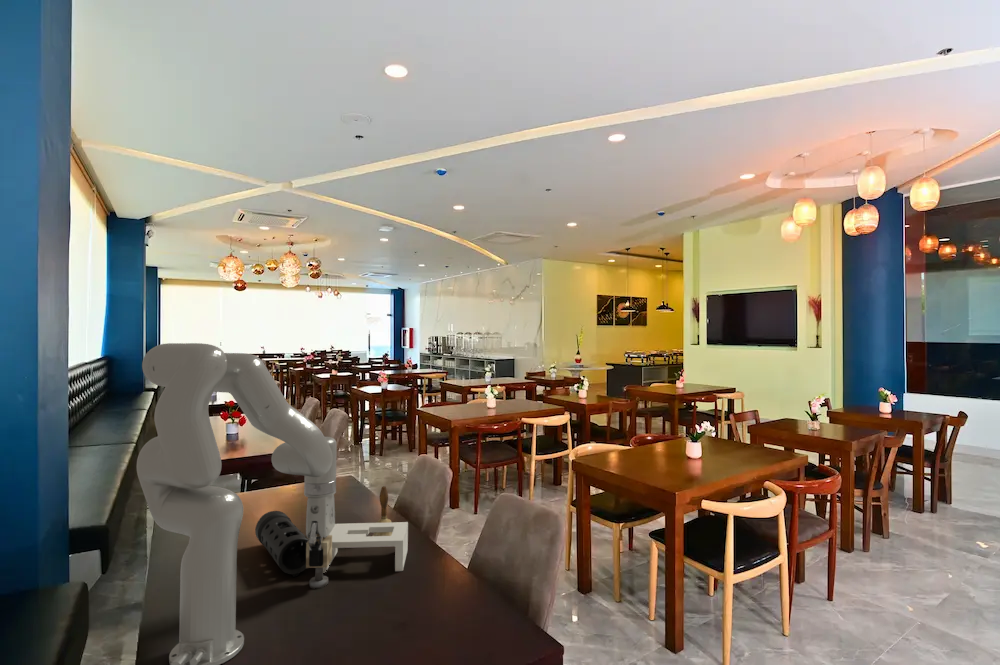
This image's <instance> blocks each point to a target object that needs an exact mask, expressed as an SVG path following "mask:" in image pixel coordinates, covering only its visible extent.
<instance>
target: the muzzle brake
mask: <svg viewBox="0 0 1000 665" xmlns="http://www.w3.org/2000/svg"><path fill="white" fill-rule="evenodd" d="M254 532H255V538H257V540H258V541H259V543H260V544H262V546H263V547H264V548H265V549H266V551H267V552H268V553H269V555H270V556H271V558H272V559H273V560H274V561H275V563H276V564H277V566H278V567H279V568H280V570H281V571H282V572H283V573H285V574H287V575H292V577H297V576H300V573H302V572H304V571H305V570H306V569H307V568H306V543H307V542H308V540H309V538H308V537H307V536H306V534H304V533H303V532H302V531H301V530H300V529H299V528H298V527H297V526H296V525H295V524H294V523H293V522H292V520H291V519H290V517H289V516H288V515H287V514H286V513H284V512H283V511H279V510H273V511H272V510H271V511H268V512H266V513H264V514H263V515H262V516H261V517H260V518H259V520H258V521H257V523H256V525H255V531H254Z"/></svg>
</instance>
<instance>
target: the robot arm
mask: <svg viewBox="0 0 1000 665" xmlns="http://www.w3.org/2000/svg"><path fill="white" fill-rule="evenodd" d="M141 362H142V364H141V367H142V373H143V374H144V376H145V377H146V379H147V380H148V381H149V382H150V383H152V384H154V385H156V386H159V387H164V389H163V391H162V393H161V394H160V396H159V399H158V400H157V402H156V405H155V409H154V416H153V417H154V418H153V419H154V425H155V429H156V433H157V436H155V437H152V438H151V439H149V440H148V441H147V442H145V444H144V445H143V446H142V448H141V449H140V451H139V453H138V455H137V459H136V473H137V478H138V481H139V484H140V487H141V490H142V493H143V495H144V498H145V501H146V505H147V507H148V510H149V512H150V515H151V518H152V519H153V521H154V522H155V523H156V525H157V526H158V527H159V528H161V529H162V530H165V531H168V532H171V533H175V534H180V535H184V536H187V537H189V540H188V544H187V546H186V548H185V551H184V553H183V555H182V557H181V560H180V561H181V562H180V575H179V576H180V580H179V582H180V583H179V586H180V587H179V588H180V589H179V592H180V593H179V631H178V632H179V633H178V636H179V639H178V640H179V641H178V643H177V644H176V645H174V647H173V648H172V649H171V651H170V652H169V655H168V662H169V665H221V664H224V663H227V662H228V661H229V660H231V659H232V658H234V657H235V656H236V655H237V654H239V652H240V651H241V650H242V649H243V647H244V645H245V635H244V633H242V632H241V631H240V630H238V629H236V628H237V627H236V626H237V624H236V620H237V617H236V616H237V573H238V572H237V570H238V569H237V568H238V566H237V560H238V559H237V558H238V541H239V535H240V531H241V526H242V523H243V522H242V521H243V517H244V505H243V504H244V503H243V501H242V499H241V498H240V496H239V495H238V494H237V493H236V492H234V491H232V490H231V489H228V488H225V487H220V486H216V485H215V486H214V485H212V484H214V482H216V481H217V479H218V478H219V477H220V475H221V471H222V465H223V464H222V459H221V454H220V451H219V450H220V449H219V446H218V444H217V440H216V436H215V434H214V430H213V426H212V422H211V419H210V415H209V414H210V413H209V405H210V402H211V398H212V396H213V394H214V393H226V394H230V395H231V397H232V398H233V399H234V400H235V402H236V404H237V405H238V406H239V408H240V409H241V411H242V412H243V413H244V416H245V417H246V419H247V420H248V422H249V423H250V425H251V426H252V427H253V428H255V429H256V430H259V431H260V432H262V433H264V434H265V435H267V436H269V437H273V438H275V439H278V440H279V441H282V442H283V443H281V444H279V445H277V447H276V448H275V449H274V450H273V451H272V454H271V463H272V464H271V465H272V467H273V468H274V469H275V470H276V471H278V472H280V473H282V474H286V475H287V474H288V475H295V476H304V477H303V478H304V482H303V483H304V484H303V486H304V487H303V489H304V490H303V495H304V496H305V497H306V498H307V502H306V504H307V505H306V514H305V515H306V516H305V518H306V520H305V536H306V537H307V538H308V539H309V566H310V567H314V566H322V565H323V549H322V541H323V537H324V538H326V537H327V536H328V535H329V534H330V532H331V531H332V529H333V528H334V526H335V524H336V511H335V510H336V508H335V494H336V493H337V457H338V456H337V448H338V447H337V445H338V444H337V441H336V439H335V437H331V436H325V435H324V434H323V432H322V430H321V429H320V428H319V427H318V426H317V425H316V424H315V423H314V422H313V421H312V420H310V419H309V418H308V417H306V416H305V415H304V414H303V413H301V412H300V411H299V410H298V409H296V408H295V407H293V406H292V405H290V403H288V401H287V399H286V397H285V396H284V395H283V393H282V391H281V389H280V387H279V386H278V384H277V383H276V381H275V379H274V378H273V376H272V374H271V373H270V371H269V369H268V368H267V366H266V365H265V362H264V361H263V360H262V359H261V358H259V357H258V356H257V355H255V354H251V353H245V352H244V353H243V352H241V353H240V352H237V353H236V352H224V351H223V350H222V349H221V348H220V347H218V346H216V345H214V344H213V345H212V344H209V343H200V342H199V343H196V342H194V343H193V342H191V343H189V342H188V343H187V342H185V343H183V342H181V343H173V342H172V343H170V342H169V343H161V344H158V345H156V346H154V347H152V348H151V349H149V351H147V352H146V353H145V355H144V357H143V359H142V361H141ZM316 535H320V536H316ZM316 539H319V543H318V541H316Z"/></svg>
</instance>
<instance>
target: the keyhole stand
mask: <svg viewBox="0 0 1000 665" xmlns="http://www.w3.org/2000/svg"><path fill="white" fill-rule="evenodd" d="M375 532H392V535H391V536H373V535H372V536H371V535H369V534H371V533H373V534H374V533H375ZM329 535H332V560H331V561H330V563H329V565H330V566H331V565H332V563H333V560H334V559H335V557H336V556H337V553H338V550H339V549H345V548H346V549H347V548H349V549H350V548H351V549H352V548H382V547H384V548H386V547H390V548H391V547H394V549H395V550H394V552H395V553H394V554H395V555H394V572H403V571H404V568H405V564H406V559H407V554H408V547H409V546H408V545H409V544H408V542H409V522H408V521H402V522H400V521H399V522H397V521H395V522H392V521H391V522H390V523H377V522H356V523H354V522H353V523H352V522H351V523H349V522H348V523H335V526H334V528H333V529H332V531H331V532H330V534H329ZM329 565H328V567H324V568H323V573H325V572H326V573H327V571H328V569H329V567H330V566H329ZM326 570H327V571H326ZM326 573H325V574H326Z"/></svg>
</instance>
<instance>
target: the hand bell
mask: <svg viewBox="0 0 1000 665" xmlns="http://www.w3.org/2000/svg"><path fill="white" fill-rule="evenodd" d="M388 501H389V494H388V489H387V486H386V485H384V486H381V489H380V493H379V503H380V506H381V507H380V508H381V511H380V512H381V516H380V519H378V520H377V522H376V523H390V522H392V520H391V519H390V518H388V514H387V505H388ZM391 535H392V532H373V534H372V536H391Z"/></svg>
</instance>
